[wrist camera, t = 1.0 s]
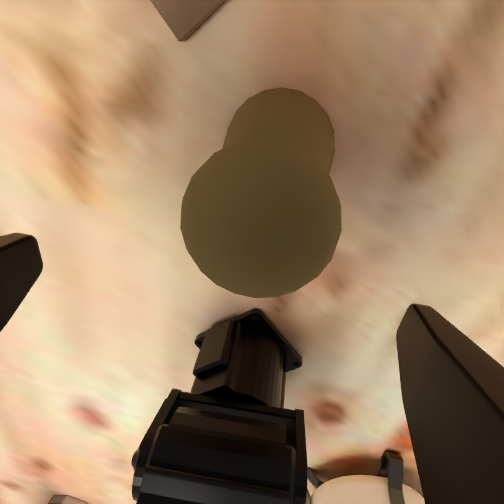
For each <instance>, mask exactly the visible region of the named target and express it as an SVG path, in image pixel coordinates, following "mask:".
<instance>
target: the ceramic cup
mask: <svg viewBox="0 0 504 504" xmlns="http://www.w3.org/2000/svg"><path fill="white" fill-rule="evenodd" d="M48 504H87V503H86V502H84V501H82V500H79V499H76V498H73V497H70V496H67V495H58V496H54V497H52V498H51V500H50V501H49V503H48Z"/></svg>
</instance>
